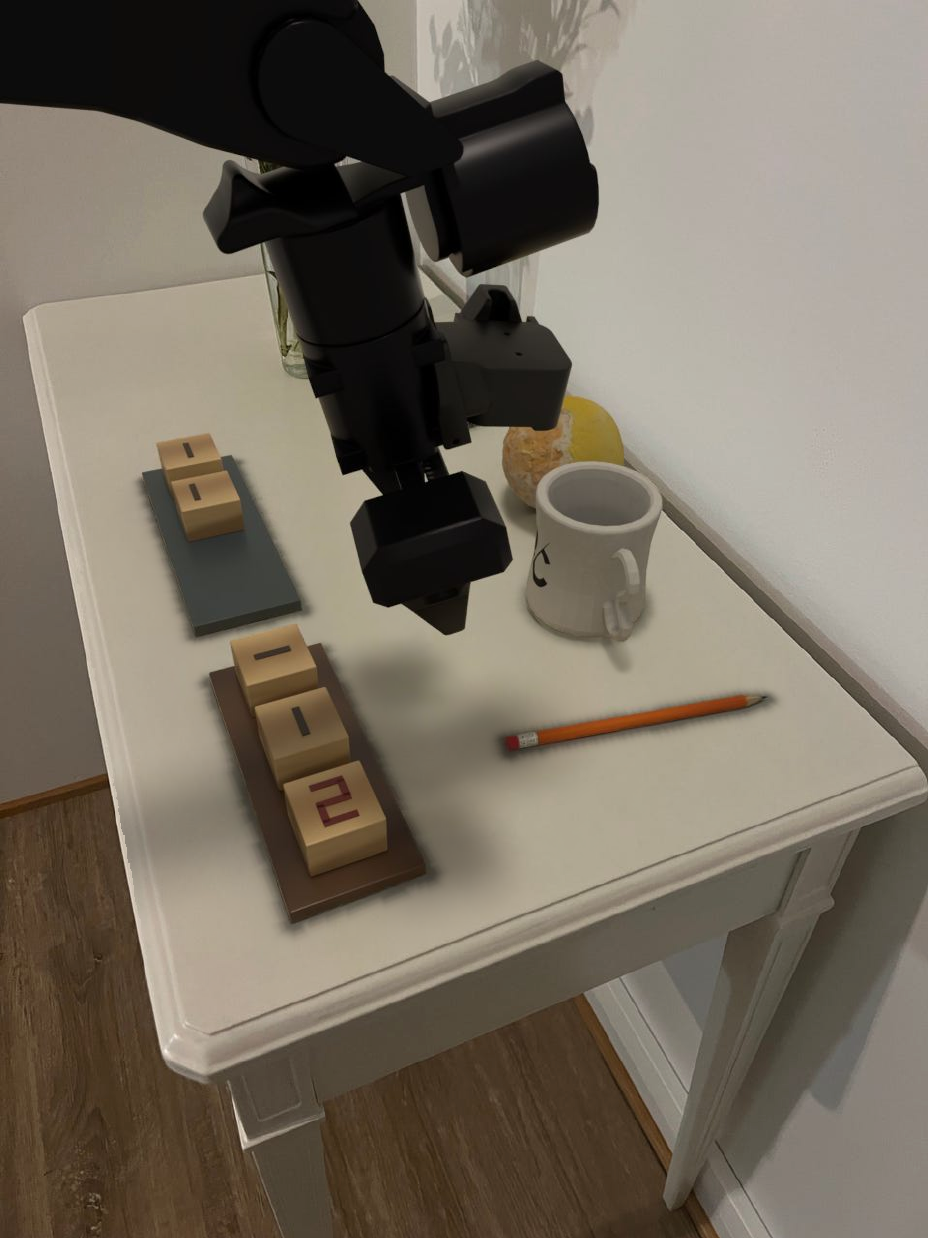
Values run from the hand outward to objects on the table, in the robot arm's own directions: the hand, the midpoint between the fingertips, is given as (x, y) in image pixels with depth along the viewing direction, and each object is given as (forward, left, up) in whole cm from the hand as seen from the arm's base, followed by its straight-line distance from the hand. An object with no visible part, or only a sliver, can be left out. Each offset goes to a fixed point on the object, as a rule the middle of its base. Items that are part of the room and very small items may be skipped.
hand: (435, 573), depth 51 cm
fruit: (+1, +30, -15) cm, 33 cm away
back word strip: (-24, +15, -15) cm, 32 cm away
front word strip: (-7, -4, -15) cm, 17 cm away
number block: (-3, -8, -14) cm, 16 cm away
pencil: (+12, +7, -15) cm, 21 cm away
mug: (+7, +17, -15) cm, 23 cm away
